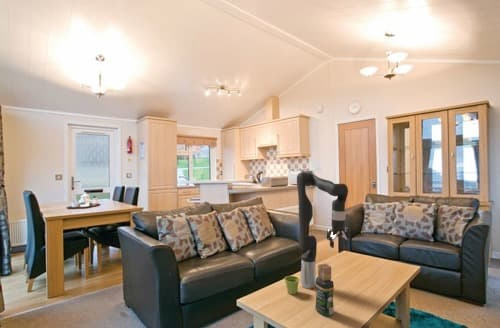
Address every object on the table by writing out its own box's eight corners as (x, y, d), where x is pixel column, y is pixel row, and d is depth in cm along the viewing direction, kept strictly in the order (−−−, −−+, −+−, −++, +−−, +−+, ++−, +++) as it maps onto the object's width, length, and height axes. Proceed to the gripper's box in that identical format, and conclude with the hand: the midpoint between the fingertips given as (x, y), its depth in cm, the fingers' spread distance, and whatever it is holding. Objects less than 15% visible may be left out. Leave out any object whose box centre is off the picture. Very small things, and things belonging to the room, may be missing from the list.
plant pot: (292, 297, 165) (292, 283, 165) (281, 291, 172) (281, 278, 172) (302, 293, 170) (302, 279, 170) (292, 287, 178) (292, 274, 178)
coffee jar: (312, 309, 151) (312, 276, 151) (323, 305, 155) (323, 273, 155) (325, 318, 143) (325, 283, 143) (336, 314, 147) (336, 280, 147)
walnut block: (318, 277, 150) (318, 264, 150) (325, 275, 152) (325, 263, 152) (323, 281, 146) (323, 268, 146) (331, 279, 147) (331, 266, 147)
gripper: (344, 216, 161) (343, 243, 161) (323, 218, 156) (323, 246, 156) (352, 218, 154) (352, 247, 154) (332, 220, 149) (332, 250, 149)
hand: (338, 246), depth 155 cm, fingers open, 8 cm apart
